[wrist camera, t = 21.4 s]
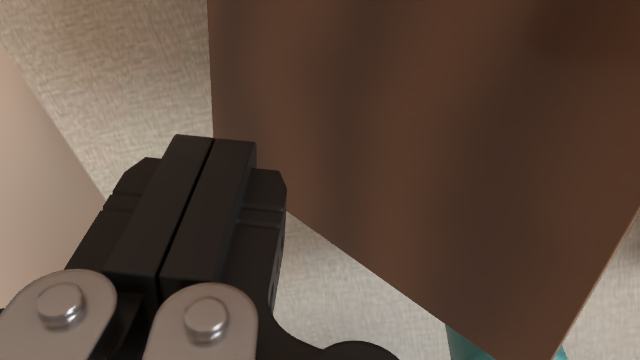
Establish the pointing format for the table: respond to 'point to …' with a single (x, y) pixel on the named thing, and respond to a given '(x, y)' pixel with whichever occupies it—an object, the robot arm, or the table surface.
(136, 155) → the table surface
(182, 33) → the table surface
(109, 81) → the table surface
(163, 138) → the table surface
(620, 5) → the lid
